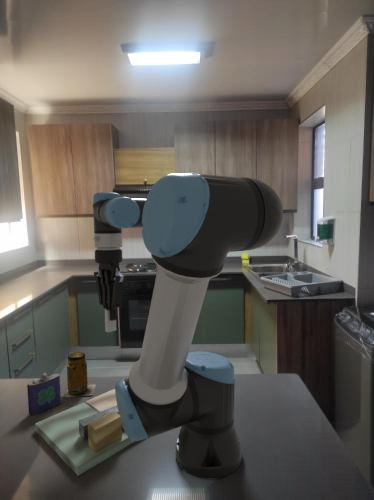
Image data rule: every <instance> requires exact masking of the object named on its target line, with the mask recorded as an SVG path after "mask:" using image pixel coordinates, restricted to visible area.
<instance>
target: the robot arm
mask: <svg viewBox="0 0 374 500" xmlns="http://www.w3.org/2000/svg"><path fill="white" fill-rule="evenodd" d="M92 210H93V231H94V232H93V235H94V237H93V241H94V248H96V249H95V250H94V262H95V263H96V264H98V270H96V271H94V272H93V276H94V278H95V283H96V289H97V296H98V297H97V298H98V303H99V305H100V306H101V305H102V308H103V309H104V311H103V312H104V331H105V332H106V333H111V332H115V331H117V309H118V308H121V307H122V302H123V301H122V300H123V293H124V291H123V290H124V285H125V281H126V279H127V276H126V275H125V274H122V273H121V268H120V263H122V262H123V250H122V249H121V248H122V247H123V234H122V233H123V232H122V231H123V230H122V229H129V228H130V229H133V228H134V229H135V228H142V229H141V234H142V240H143V243H144V246H145V248H146V250H147V251H148V252H149V253H150V257H151V258H152V259H151V260H152V261H153V262H154V264H156V266H157V271H156V276H155V280H154V286H153V291H152V297H151V302H150V307H149V312H148V317H147V321H146V322H147V323H146V328H145V331H144V337H143V340H142V341H143V343H142V346H141V352H140V353H141V354H140V357H139V359H138V360H136V361H135V362H134V363H133V364H132V366H131V368H130V370H129V373H128V378H121V380H118V381H117V382H116V383H115V387H114V389H115V394H116V401H117V407H118V411H119V415H120V419H121V422H122V425H123V428H124V431H125V433H126V435H127V436H128V438H129V439H130V440H132V441H135V442H139V441H142V440H149V439H150V438H153V437H156V436H158V435H161V434H163V433H167V432H169V431H172V430H175V429H177V428H180V430H179V433H178V436H177V440H176V443H175V459H176V462H177V463H178V465H179V467H180V468H181V469H182V470H184V471H185V472H186V473H187V474H189V475H191V476H193V477H197V478H199V479H204V480H205V479H206V480H215V479H216V480H217V479H223V478H226V477H228V476H230V475H231V474H233V473H234V472H235V471H236V470H237V469H238V468H239V467H240V465H241V463H242V459H241V458H243V457H242V455H243V454H242V451H243V450H242V443H241V440H240V438H239V437H238V432H237V429H236V425H235V387H236V386H235V385H236V384H235V383H236V378H235V367H234V364H233V363H232V362H231V360H230V359H228V358H227V357H225V356H224V355H222V354H217V353H214V352H210V351H203V350H202V351H190V349H191V345H192V341H193V339H194V335H195V331H196V328H197V325H198V321H199V317H200V314H201V312H202V307H203V304H204V299H205V297H206V292H207V290H208V286H209V282H210V280H211V279H214V278H216V277H217V276H219V275H220V274H221V273H222V271H223V269H224V265H225V262H226V259H227V256H228V254H229V253H233V252H234V253H236V252H244V251H252V250H255V249H258V248H261V247H263V246H265V245H266V244H268V243H269V242H271V241H272V240H273V239H274V238H275V236H276V235H277V234H278V233H279V231H280V229H281V226H282V224H283V218H284V208H283V203H282V201H281V198H280V196H279V195H278V193H277V191H276V190H275V189H274V188H273V187H271V186H270V185H269V184H267V183H266V182H264V181H262V180H259V179H256V178H253V177H237V176H225V175H217V174H216V175H215V174H214V175H213V174H203V173H197V172H194V171H193V172H185V173H169V174H166V175H163V176H162V177H160V179H158V180H157V181H156V182H155V183H154V184H153V185H152V187H151V188H150V190H149V192H148V194H147V196H146V198H140V197H139V198H138V197H137V198H135V197H134V198H133V197H127V196H121V194H120V193H117V192H109V191H108V192H107V191H104V192H103V191H102V192H95V193H94V194H93V197H92Z"/></svg>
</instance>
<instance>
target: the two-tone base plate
mask: <svg viewBox="0 0 374 500" xmlns="http://www.w3.org/2000/svg"><path fill="white" fill-rule="evenodd" d="M114 406H117V401H116V394H115V388H113V389H110V390H109V391H107V392H104V393H102V394H99V395H96V396H94V397H93V398H91V399H88V400H85V401H84V402H80V403H79V404H76V405H74V406H72V407H69V408H68V409H67V408H66V409H65V410H62V411H61V412H58V413H56V414H54V415H52V416H49V417H47V418H45V419H43V420H39V421H38V422H36V423H35V424H34V425H35V432H36V433H37V434H38V435H39V436H40V437H41V438H42V440H44V442H46V444H47V445H48V446H49V445H50V448H51V449H52V450H53V451H54V452H55V453H56V454H57V455H58V456H59V458H60V459H61V460H62V461H63V462H64V463H65V464H66V465H67V466H68V467H69V468H70V469H71V470H72V471H73V473H74V474H75V475H76V476H77V477H79V476H80V475H82V474H83V473H85V472H87V471H89V470H90V469H92V468H94V467H96V466H97V465H98V464H101V463H102V462H104V461H105V460H107V459H108V458H111V457H112V456H113V455H115V454H116V453H117V454H118V452H120V451H121V450H123V449H125V448H127V447H128V446H131V445H132V444H134V443H135V442H136V441H132V440H130V439H129V438H128V436H127V435H126V433H125V431H124V428H123V425H122V422H121V419H120V415H119V414H118V413H116V412H115V411H112V412H110V413H108V414H106V415H104V416H102V417H100V418H98V419H96V420H94V421H92V422H90V423H88V439H86V440H83V438H82V437H81V436H80V434H79V420H81V419H83V418H86V417H88V416H91V415H94V414H96V413H99V412H101V411H104V410H106V409H109V408H111V407H114Z"/></svg>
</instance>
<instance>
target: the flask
mask: <svg viewBox="0 0 374 500" xmlns="http://www.w3.org/2000/svg"><path fill="white" fill-rule="evenodd" d="M26 389H27V405H28V414H29V417H31V418H32V417H36V416H39V415H43V414H45V413H46V412H48V411H51V410H53V409H56V408H57V407H59V406H60V405H61V403H62V398H61V397H62V396H61V393H62V392H61V376H60V374H59V373H54V374H53V373H52V374H51V375H49V376H48V374H47V372H43V373H42V376H41V377H40V378H39V379H36V380H32V381H31V382H29V383H27V385H26Z"/></svg>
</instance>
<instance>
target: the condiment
mask: <svg viewBox="0 0 374 500" xmlns="http://www.w3.org/2000/svg"><path fill="white" fill-rule="evenodd" d="M87 363H88V362H87V361H86V353H85V352H82V351H75V352H71V353H70V354H69V355H68V356H67V364H66V374H67V375H66V378H67V380H66V382H67V390H66V392H65V394H64V397H63V398H76V397H78V398H79V397H88V396H93V395H94V392H95V389H96V386H97V384H95V383H92V384H88V364H87Z"/></svg>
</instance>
